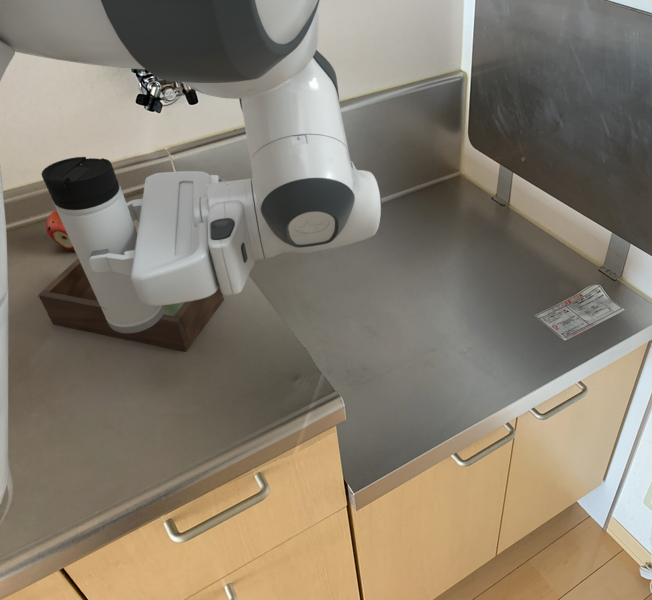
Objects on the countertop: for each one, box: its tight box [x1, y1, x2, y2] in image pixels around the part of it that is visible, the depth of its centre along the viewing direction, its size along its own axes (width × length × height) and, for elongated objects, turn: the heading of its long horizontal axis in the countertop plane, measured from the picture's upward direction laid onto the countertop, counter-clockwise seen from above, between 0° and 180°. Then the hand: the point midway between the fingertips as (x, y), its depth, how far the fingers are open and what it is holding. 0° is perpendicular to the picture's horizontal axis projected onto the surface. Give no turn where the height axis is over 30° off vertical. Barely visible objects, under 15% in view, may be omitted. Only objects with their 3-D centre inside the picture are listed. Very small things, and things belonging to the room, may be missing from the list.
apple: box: [45, 208, 75, 251], centre depth 97 cm, size 8×7×10 cm
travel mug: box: [41, 156, 164, 333], centre depth 65 cm, size 6×7×20 cm
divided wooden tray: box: [37, 257, 225, 352], centre depth 87 cm, size 11×21×6 cm, turn 75°
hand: (96, 240), depth 64 cm, fingers closed on travel mug, 6 cm apart
